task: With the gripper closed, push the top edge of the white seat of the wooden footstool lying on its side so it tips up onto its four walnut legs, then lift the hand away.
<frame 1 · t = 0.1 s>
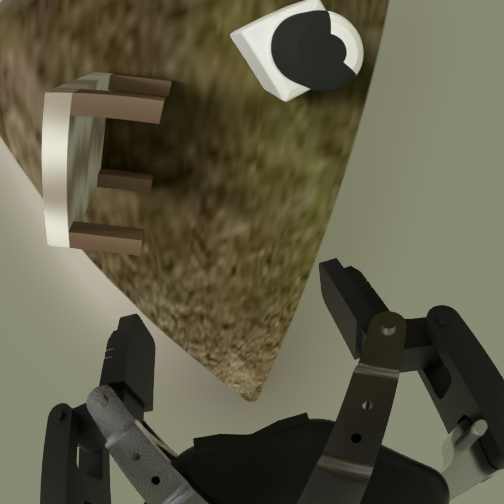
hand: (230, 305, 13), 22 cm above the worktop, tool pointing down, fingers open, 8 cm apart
footstool: (122, 131, 27), on the worktop
medicine bottle: (277, 46, 25), on the worktop
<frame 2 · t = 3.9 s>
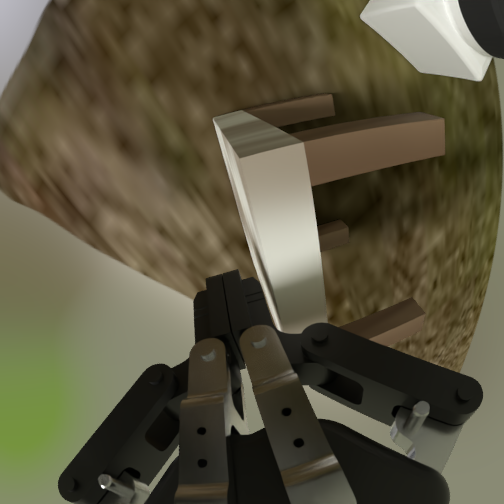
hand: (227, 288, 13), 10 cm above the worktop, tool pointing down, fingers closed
footstool: (286, 181, 22), on the worktop, touching gripper
medicine bottle: (406, 18, 16), on the worktop
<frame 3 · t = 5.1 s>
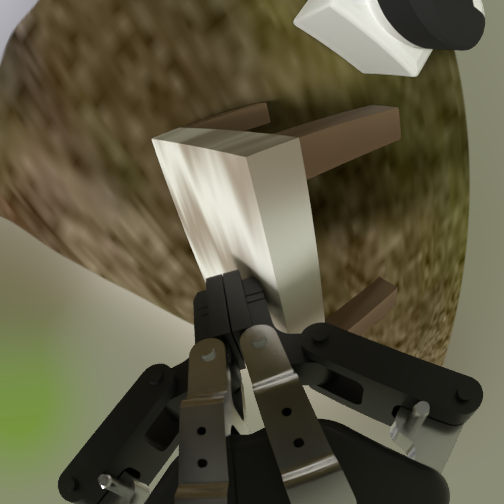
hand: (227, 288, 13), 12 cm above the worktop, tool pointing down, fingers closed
footstool: (228, 195, 22), point 1 cm above the worktop, tilted 22°, touching gripper
medicine bottle: (348, 18, 17), on the worktop
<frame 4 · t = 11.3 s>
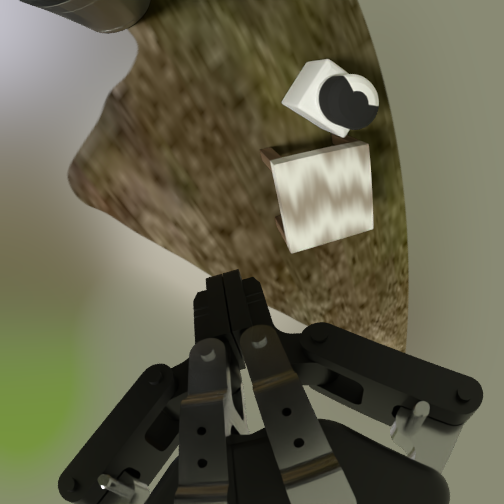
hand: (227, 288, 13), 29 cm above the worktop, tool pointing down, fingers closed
footstool: (275, 199, 39), point 4 cm above the worktop, tilted 90°
medicine bottle: (314, 95, 36), on the worktop
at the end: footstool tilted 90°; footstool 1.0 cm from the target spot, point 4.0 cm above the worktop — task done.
